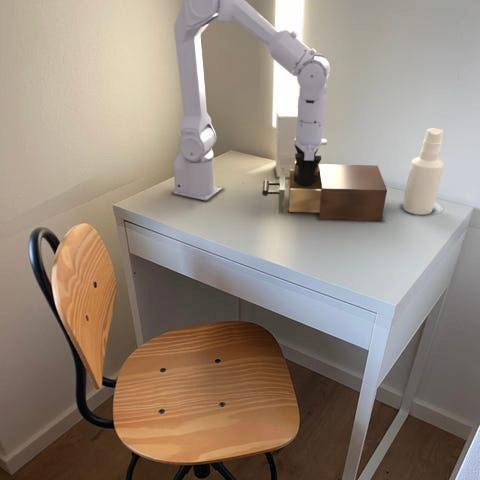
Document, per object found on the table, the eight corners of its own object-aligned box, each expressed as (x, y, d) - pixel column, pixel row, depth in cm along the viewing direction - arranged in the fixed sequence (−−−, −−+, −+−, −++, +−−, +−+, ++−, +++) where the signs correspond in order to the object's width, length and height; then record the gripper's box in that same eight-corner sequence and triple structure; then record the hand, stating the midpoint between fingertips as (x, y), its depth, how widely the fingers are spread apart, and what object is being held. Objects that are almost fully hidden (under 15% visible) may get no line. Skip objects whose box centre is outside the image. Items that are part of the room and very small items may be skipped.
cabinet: (318, 219, 114) (322, 188, 110) (316, 193, 126) (318, 164, 121) (381, 221, 114) (387, 190, 109) (372, 194, 125) (377, 165, 120)
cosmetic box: (300, 178, 133) (305, 116, 124) (275, 178, 133) (277, 116, 124) (297, 166, 140) (302, 107, 130) (274, 166, 140) (276, 107, 130)
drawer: (261, 213, 115) (261, 189, 112) (263, 189, 126) (263, 166, 122) (335, 215, 114) (338, 191, 111) (331, 191, 125) (334, 168, 121)
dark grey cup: (316, 188, 115) (318, 168, 112) (293, 187, 116) (294, 167, 113) (315, 179, 119) (317, 159, 117) (293, 178, 120) (294, 158, 117)
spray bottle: (433, 204, 120) (452, 127, 109) (431, 217, 115) (452, 137, 104) (403, 200, 122) (419, 124, 111) (400, 212, 117) (417, 133, 106)
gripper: (331, 130, 103) (324, 193, 111) (326, 110, 114) (320, 168, 122) (296, 129, 103) (292, 192, 111) (295, 109, 115) (291, 167, 123)
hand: (305, 180), depth 117 cm, fingers closed on dark grey cup, 5 cm apart
